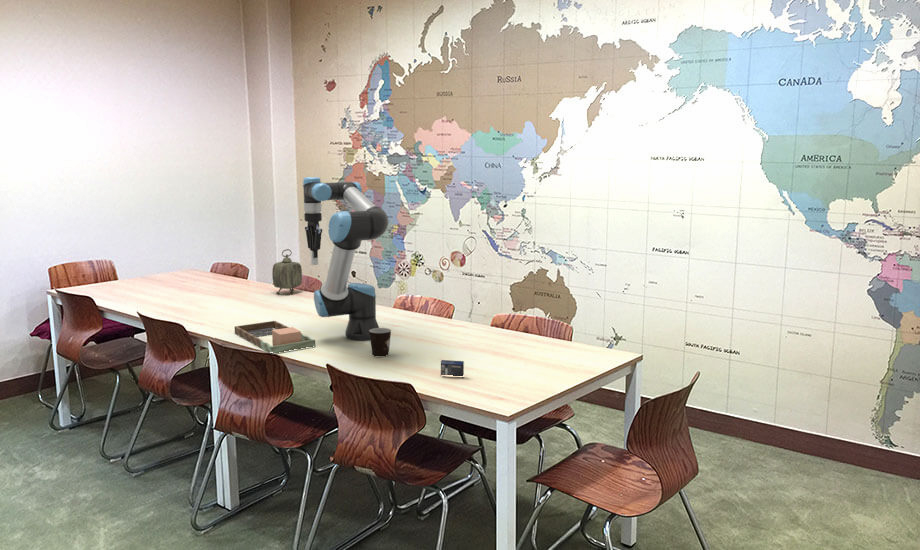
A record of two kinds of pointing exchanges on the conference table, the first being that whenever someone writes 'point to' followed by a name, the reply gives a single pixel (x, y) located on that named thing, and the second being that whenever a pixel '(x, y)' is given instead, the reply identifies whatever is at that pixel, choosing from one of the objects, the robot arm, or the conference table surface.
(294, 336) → the terracotta block
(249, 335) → the wooden tray
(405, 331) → the conference table surface
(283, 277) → the tabletop clock
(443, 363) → the mini dv tape
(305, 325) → the conference table surface
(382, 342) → the coffee mug
